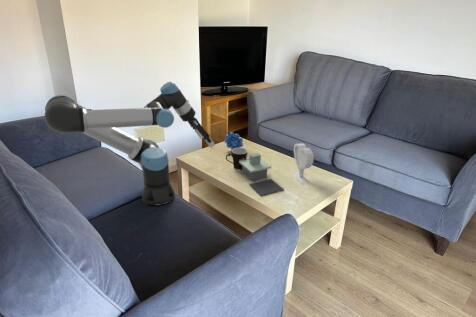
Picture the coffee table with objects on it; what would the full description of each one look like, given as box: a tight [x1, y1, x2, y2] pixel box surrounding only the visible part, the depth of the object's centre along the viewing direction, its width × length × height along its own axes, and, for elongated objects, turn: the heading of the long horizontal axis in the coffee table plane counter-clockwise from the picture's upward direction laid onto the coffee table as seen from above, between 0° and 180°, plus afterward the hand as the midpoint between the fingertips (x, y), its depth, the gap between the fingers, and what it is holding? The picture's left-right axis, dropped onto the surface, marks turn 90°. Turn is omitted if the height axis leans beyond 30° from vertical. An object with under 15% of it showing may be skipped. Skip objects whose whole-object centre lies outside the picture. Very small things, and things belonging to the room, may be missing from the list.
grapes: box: [223, 132, 244, 151], centre depth 209 cm, size 12×7×12 cm, turn 92°
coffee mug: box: [225, 147, 248, 171], centre depth 190 cm, size 12×9×10 cm
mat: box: [248, 178, 285, 197], centre depth 172 cm, size 13×12×1 cm
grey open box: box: [241, 166, 268, 183], centre depth 182 cm, size 9×11×6 cm
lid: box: [239, 152, 272, 173], centre depth 180 cm, size 12×13×6 cm
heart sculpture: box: [291, 143, 315, 185], centre depth 178 cm, size 16×5×18 cm, turn 16°
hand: (207, 141), depth 177 cm, fingers open, 13 cm apart
